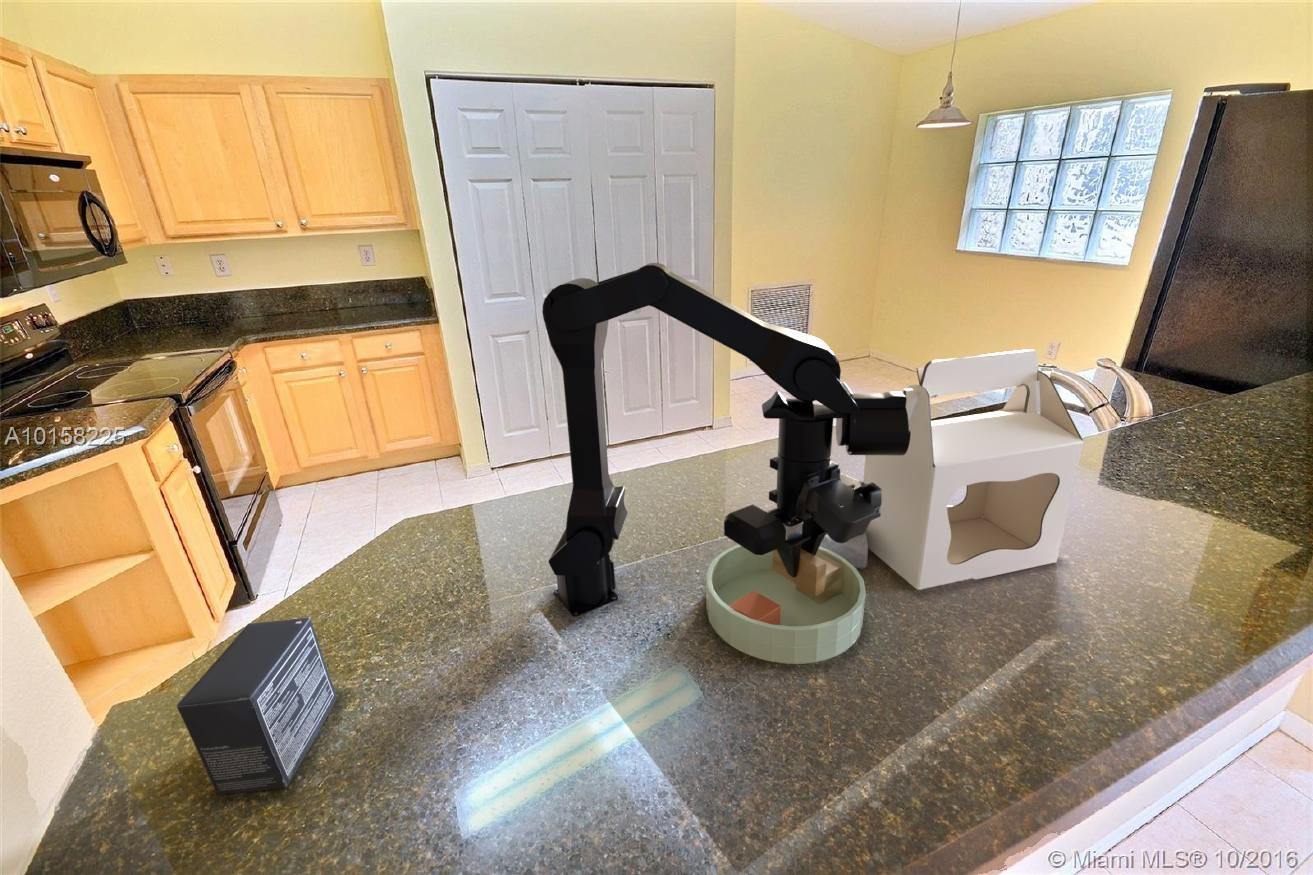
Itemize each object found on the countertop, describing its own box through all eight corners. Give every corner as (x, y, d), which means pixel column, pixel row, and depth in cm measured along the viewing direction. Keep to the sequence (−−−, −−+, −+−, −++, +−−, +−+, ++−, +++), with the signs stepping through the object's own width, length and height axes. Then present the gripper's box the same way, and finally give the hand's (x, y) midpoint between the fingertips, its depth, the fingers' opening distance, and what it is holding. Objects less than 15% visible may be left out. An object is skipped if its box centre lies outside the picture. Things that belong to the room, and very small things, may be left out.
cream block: (819, 604, 70) (821, 576, 69) (795, 589, 73) (796, 562, 72) (841, 593, 72) (844, 565, 71) (817, 578, 75) (819, 551, 74)
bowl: (780, 694, 58) (782, 654, 56) (677, 603, 73) (676, 569, 71) (895, 624, 67) (899, 588, 65) (783, 556, 82) (784, 525, 80)
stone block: (798, 580, 79) (875, 570, 76) (791, 549, 78) (868, 538, 75) (797, 538, 90) (863, 528, 87) (790, 510, 89) (857, 499, 86)
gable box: (983, 518, 89) (1014, 338, 79) (1059, 562, 77) (1106, 357, 67) (855, 542, 84) (871, 353, 75) (915, 594, 72) (944, 377, 62)
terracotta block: (756, 651, 63) (756, 621, 62) (729, 633, 66) (729, 604, 65) (779, 635, 65) (781, 605, 64) (753, 618, 68) (754, 589, 67)
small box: (275, 703, 60) (246, 620, 56) (340, 697, 60) (315, 614, 57) (210, 797, 50) (169, 704, 46) (288, 789, 50) (254, 696, 47)
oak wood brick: (814, 596, 67) (816, 567, 65) (772, 569, 72) (773, 541, 71) (824, 592, 67) (826, 562, 66) (781, 565, 73) (782, 537, 71)
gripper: (797, 503, 53) (790, 641, 58) (921, 454, 62) (905, 577, 68) (720, 465, 62) (721, 588, 67) (839, 428, 71) (831, 538, 76)
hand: (797, 573), depth 69 cm, fingers closed on oak wood brick, 1 cm apart
